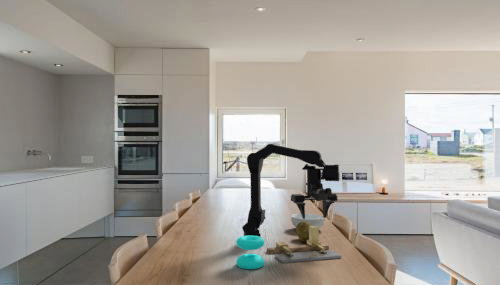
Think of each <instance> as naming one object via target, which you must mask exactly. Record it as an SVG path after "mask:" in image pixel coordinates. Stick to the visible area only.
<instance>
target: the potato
mask: <svg viewBox="0 0 500 285" xmlns="http://www.w3.org/2000/svg"><path fill="white" fill-rule="evenodd" d="M309 226H311V225H310V224H309V223H308V222H300V223H298V225H297V227H295V230H296V231H295V232H296V234H297V236H298V240H300V242H303V243H306V244H307V240H309Z"/></svg>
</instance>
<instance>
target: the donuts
mask: <svg viewBox="0 0 500 285" xmlns="http://www.w3.org/2000/svg"><path fill="white" fill-rule="evenodd" d="M235 243H236V245H237V247H238V248H240V249H241V250H245V251H246V250H247V251H255V250H259V249H260V248H262V247H263V246H264V245H265V240H264V238H263V237H259V236H253V235H248V236H244V235H241V236H239V237H238V238H237V239H236V241H235ZM235 263H236V265H237V266H238V268H240V269H244V270H257V269H260V268H262V267H263V266H264V264H265V259H264V258H263V257H262V255H259V254H255V253H244V254H241V255H239V256H238V257H237V259H236V261H235Z"/></svg>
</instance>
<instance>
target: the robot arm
mask: <svg viewBox="0 0 500 285" xmlns="http://www.w3.org/2000/svg"><path fill="white" fill-rule="evenodd" d="M272 154H273V155H274V154H275V155H279V156H280V155H281V156H284V157H288V158H293V159H298V160H300V161H302V162H304V163H306V164H305V165H304V166H303V167H302V168H301V169H302V170H303V171H306V182H305V186H306V192H305V195H304V194H301V193H293V194H291V196H290V201H291V202H293V204H296V206H297V208H298V210H299V214H301V215H302V218H303V219H305V214H306V211H305V209H306V207H305V206H306V202H305V201H314V200H315V201H316V202H321V201H322V202H321V203H322V204H321V205H322V216H323V218H324V219H326V217H327V215H328V211H329V209H330V207H331V205H333V204H335V202H338V200H339V199H338V195H337V194H336V193H334V192H333V191H332V188H330V187H326V188H324V185H323V183H322V179H324V182H340V174H341V173H340V169H339V167H340V166H339V165H340V164H326V162H325V161H324V160H323V159H322V154H321V152H320V151H318V150H313V149H304V150H303V149H302V150H301V149H297V148H292V147H289V146H287V147H286V146H281V145H277V144H275V143H268V144H267V145H265V146H263V147H262V148H261V149H258V150H257V151H256V152H251V153H250V154H248V155H247V157H246V164H247V167H248V171H249V174H250V209H249V211H248V217H247V222H246V223H245V224H244V225H243V226H242V231H243V236H248V235H253V236H259V237H261V232H260V228H261V225H263V223H265V220H266V209H263V208H262V201H261V200H262V198H261V197H262V196H261V194H262V193H261V172H262V168H263V167H264V166H263V165H264V160H265V159H267V158H268V157H270V156H271V155H272ZM261 238H262V237H261Z"/></svg>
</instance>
